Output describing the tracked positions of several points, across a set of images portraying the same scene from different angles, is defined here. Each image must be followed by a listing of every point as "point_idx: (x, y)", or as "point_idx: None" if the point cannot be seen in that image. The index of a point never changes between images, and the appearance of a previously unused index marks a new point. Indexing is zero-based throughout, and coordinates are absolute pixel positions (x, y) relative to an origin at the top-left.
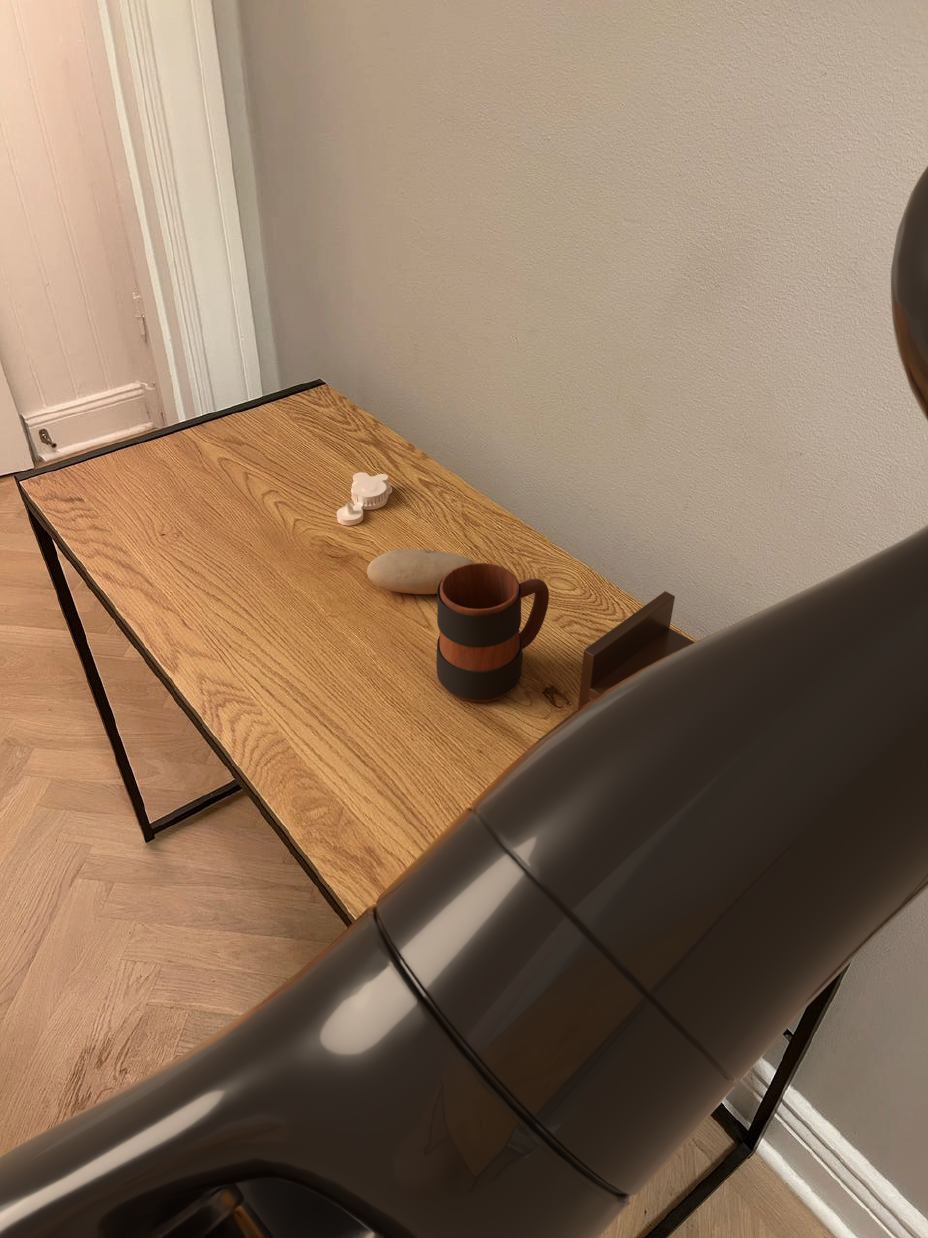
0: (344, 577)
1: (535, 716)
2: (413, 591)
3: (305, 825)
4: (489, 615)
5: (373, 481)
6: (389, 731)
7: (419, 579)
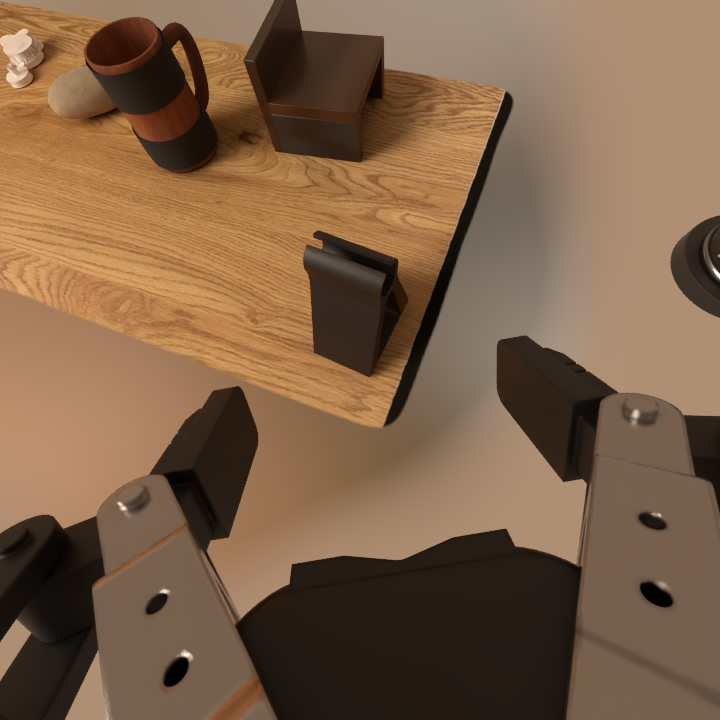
0: (44, 127)
1: (243, 158)
2: (100, 108)
3: (121, 320)
4: (145, 64)
5: (18, 38)
6: (144, 221)
7: (94, 92)
